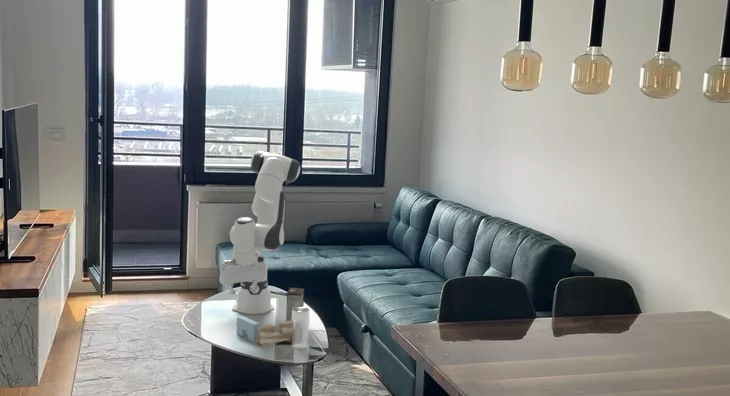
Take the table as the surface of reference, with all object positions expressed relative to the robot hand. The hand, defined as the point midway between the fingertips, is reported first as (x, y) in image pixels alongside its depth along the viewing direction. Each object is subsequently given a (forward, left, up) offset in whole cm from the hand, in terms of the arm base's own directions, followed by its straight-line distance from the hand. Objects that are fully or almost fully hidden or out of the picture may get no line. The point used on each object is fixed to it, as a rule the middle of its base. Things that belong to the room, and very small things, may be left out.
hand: (242, 292), depth 277 cm
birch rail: (+10, +13, -17) cm, 24 cm away
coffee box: (-6, +22, -18) cm, 29 cm away
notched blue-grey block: (+4, +2, -17) cm, 18 cm away
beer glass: (+17, +21, -18) cm, 32 cm away
